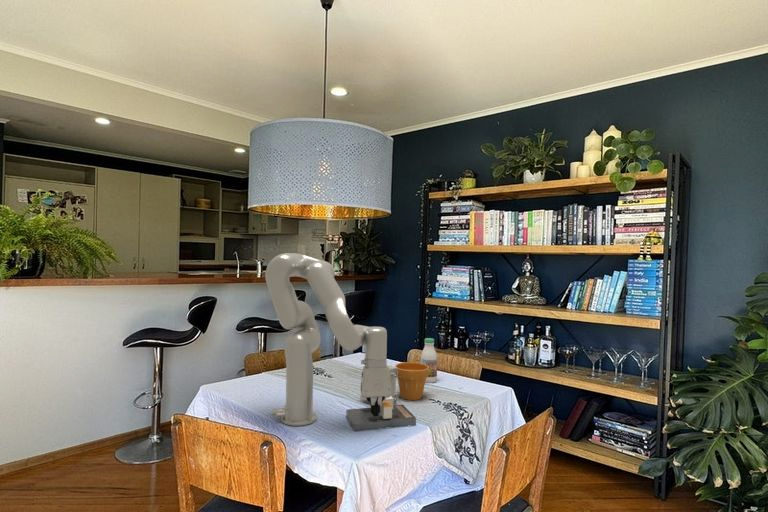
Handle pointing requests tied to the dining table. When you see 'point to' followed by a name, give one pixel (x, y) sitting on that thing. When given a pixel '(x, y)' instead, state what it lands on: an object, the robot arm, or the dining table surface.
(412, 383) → the flower pot
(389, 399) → the on lever
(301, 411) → the robot arm
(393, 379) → the circuit breaker
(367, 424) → the slotted slider board
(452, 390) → the dining table surface
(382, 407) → the lever
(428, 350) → the milk bottle
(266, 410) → the dining table surface
